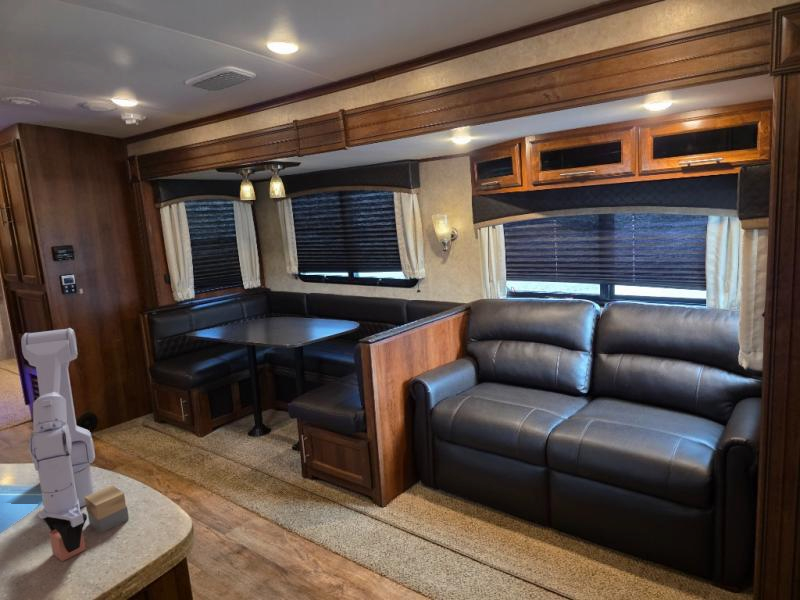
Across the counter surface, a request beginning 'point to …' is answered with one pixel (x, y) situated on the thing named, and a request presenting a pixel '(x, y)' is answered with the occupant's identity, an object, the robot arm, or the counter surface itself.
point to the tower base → (109, 520)
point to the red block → (59, 546)
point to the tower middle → (105, 502)
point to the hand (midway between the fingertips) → (68, 545)
